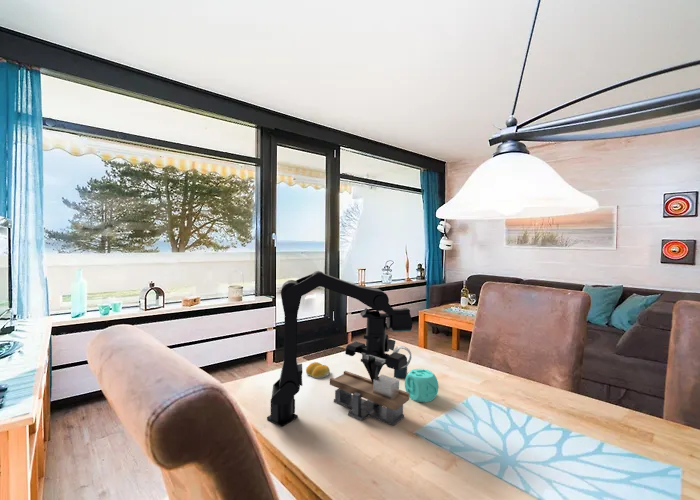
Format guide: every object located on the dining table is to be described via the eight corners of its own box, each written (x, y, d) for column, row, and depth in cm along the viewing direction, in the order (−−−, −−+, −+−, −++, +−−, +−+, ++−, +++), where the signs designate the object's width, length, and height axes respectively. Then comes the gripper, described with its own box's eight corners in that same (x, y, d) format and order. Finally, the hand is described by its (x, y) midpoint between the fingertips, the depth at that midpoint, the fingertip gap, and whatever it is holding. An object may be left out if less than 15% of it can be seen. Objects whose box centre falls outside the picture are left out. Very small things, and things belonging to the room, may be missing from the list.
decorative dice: (438, 399, 113) (439, 375, 113) (419, 404, 110) (419, 379, 109) (422, 389, 121) (423, 366, 120) (403, 394, 117) (404, 370, 116)
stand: (326, 406, 108) (326, 384, 108) (352, 391, 118) (352, 371, 118) (387, 431, 94) (387, 407, 94) (410, 412, 105) (410, 390, 105)
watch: (391, 371, 136) (391, 343, 136) (411, 373, 134) (412, 345, 133) (388, 376, 131) (389, 348, 130) (410, 379, 129) (411, 350, 128)
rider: (373, 394, 102) (373, 379, 102) (381, 388, 106) (381, 374, 106) (390, 400, 99) (391, 385, 98) (398, 394, 102) (399, 380, 102)
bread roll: (319, 380, 127) (319, 370, 127) (302, 374, 132) (302, 364, 132) (334, 373, 133) (334, 363, 133) (317, 367, 139) (317, 358, 139)
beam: (329, 384, 110) (329, 378, 110) (345, 376, 117) (345, 370, 116) (395, 410, 96) (395, 403, 96) (409, 399, 102) (409, 393, 102)
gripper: (416, 332, 104) (414, 382, 105) (365, 320, 116) (364, 366, 117) (398, 340, 96) (396, 396, 97) (345, 327, 107) (343, 377, 108)
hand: (374, 382), depth 105 cm, fingers closed
